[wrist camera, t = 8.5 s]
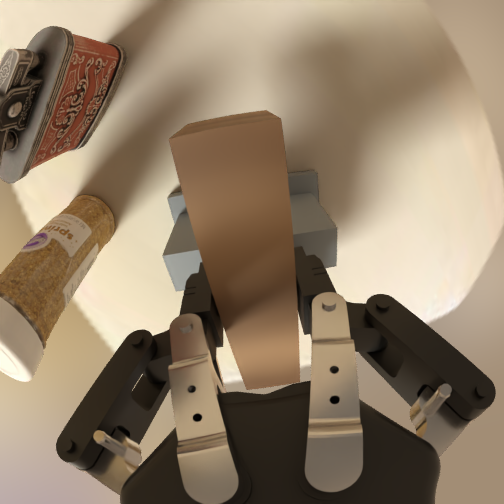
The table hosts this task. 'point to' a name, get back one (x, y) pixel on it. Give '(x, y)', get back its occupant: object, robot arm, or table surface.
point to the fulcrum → (303, 223)
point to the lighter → (53, 97)
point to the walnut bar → (245, 237)
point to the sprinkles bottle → (48, 281)
